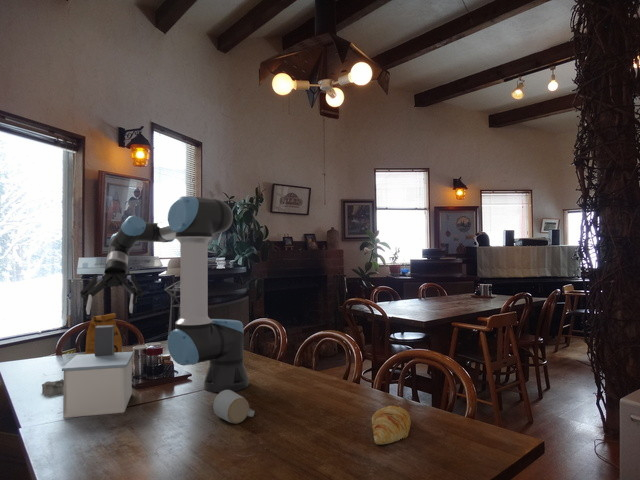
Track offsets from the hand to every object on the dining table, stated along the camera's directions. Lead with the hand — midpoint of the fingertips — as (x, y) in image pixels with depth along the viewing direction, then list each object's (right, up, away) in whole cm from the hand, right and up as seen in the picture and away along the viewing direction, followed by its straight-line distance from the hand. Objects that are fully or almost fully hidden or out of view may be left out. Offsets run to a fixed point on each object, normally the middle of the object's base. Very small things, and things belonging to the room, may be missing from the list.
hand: (109, 311), depth 158 cm
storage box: (+5, -26, -17) cm, 31 cm away
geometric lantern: (+9, -28, +60) cm, 67 cm away
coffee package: (-14, -27, +26) cm, 40 cm away
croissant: (+90, -26, -39) cm, 102 cm away
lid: (+5, -13, -17) cm, 22 cm away
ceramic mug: (+49, -26, -29) cm, 62 cm away
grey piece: (-15, -27, -2) cm, 31 cm away
